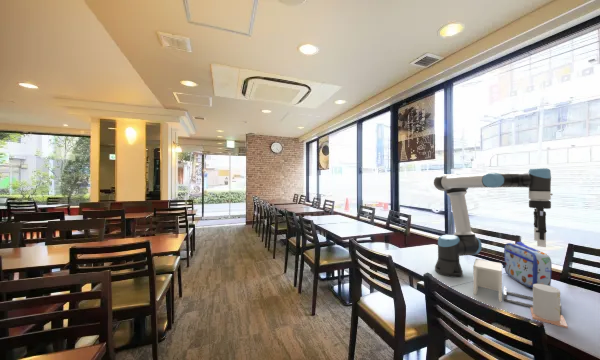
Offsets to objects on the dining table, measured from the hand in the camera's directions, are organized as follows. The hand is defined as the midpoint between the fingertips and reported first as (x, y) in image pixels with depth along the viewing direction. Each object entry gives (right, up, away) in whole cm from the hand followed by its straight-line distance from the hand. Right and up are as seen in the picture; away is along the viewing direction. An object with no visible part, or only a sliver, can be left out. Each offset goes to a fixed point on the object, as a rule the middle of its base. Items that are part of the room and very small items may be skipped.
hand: (539, 243), depth 114 cm
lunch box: (+15, -29, +23) cm, 40 cm away
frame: (-5, -28, -1) cm, 29 cm away
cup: (-10, -28, -12) cm, 32 cm away
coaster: (-10, -29, -13) cm, 33 cm away
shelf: (-17, -29, +9) cm, 35 cm away
